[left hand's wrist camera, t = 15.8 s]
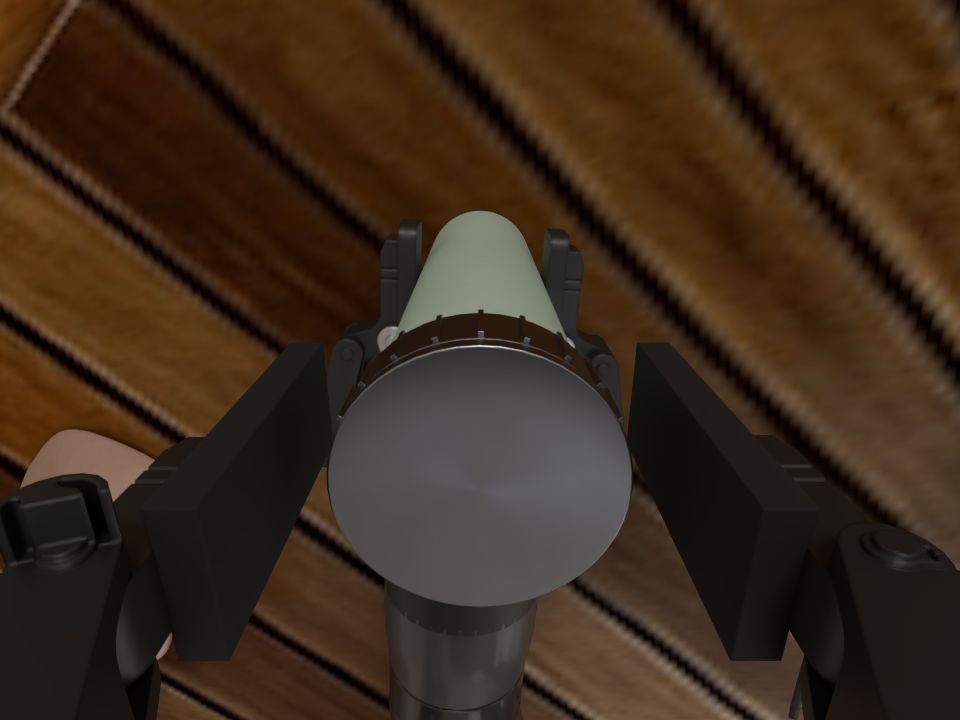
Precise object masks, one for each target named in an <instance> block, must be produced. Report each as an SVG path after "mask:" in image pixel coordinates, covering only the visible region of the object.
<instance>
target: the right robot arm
mask: <svg viewBox="0 0 960 720" xmlns="http://www.w3.org/2000/svg"><path fill="white" fill-rule="evenodd" d="M421 249H422V222H421V221H420V220H403V221H402V222H401V223H400V224H399V227H398V234H391V235H390V236H389V237H388V238H387V239H386V240H385V243H384V245H383V248H382V250H381V253H380V267H381V269H380V278H381V280H380V290H381V314H380V316H379V317H377V318H375V319H373V320H369V321H366V322H363V321H354V322H351V323H350V324H349V325H348V326H347V327H346V329H345V330H344V333H343V335H342V337H341V338H340V339H338V340H337V342H336V343H335V345H334V346H333V349H332V353H331V357H330V362H329V366H328V371H327V376H326V378H327V387H328V396H329V406H330V415H331V425H332V434H333V436H334V434H335V432H336V430H337V427H338V425H339V423H340V421H337V420H336V419H337V417H338V414H339V412H340V411H341V409H342V407H343V405H344V403H345V401H346V399H347V397H348V395H349V393H350V391H351V389H352V387H353V386H355V387H357V384H358V382H359V380H360V378H361V376H362V374H363V372H364V370H365V368H366V364H367V360H369V359H370V358H371V357H372V356H373V355H374V356H376V357H377V356H378V355H379V354H380V353H381V352H382V351H383V350H384V349H385V348H386V347H388V346H389V345H390V344H391V342H392V339H393V337H394V335H395V333H396V330H397V328H398V326H399V323H400V321H401V319H402V316H403V314H404V312H405V309H406V307H407V305H408V302H409V300H410V298H411V295H412V293H413V291H414V288H415V286H416V284H417V281H418V279H419V277H420V274H421ZM583 267H584V265H583V261H582V257H581V254H580V251H579V250H578V249H577V248H576V247H575V246H574V245H569V235H568V234H567V233H566V232H565V230H560V229H546V231H545V236H544V246H543V256H542V266H541V276H540V277H541V279H542V282H543V284H544V286H545V289H546V291H547V293H548V296H549V298H550V300H551V303H552V305H553V307H554V310H555V312H556V314H557V317H558V319H559V321H560V324H561V326H562V328H563V331H564V333H565V335H566V338H567V340H568V342H569V344H570V345H571V346H572V347H573V348H575V349H576V350H577V351H578V352H579V353H580V354H581V355H582V356H583V358H586V357H587V356H588V357H589V358H590V359H591V361H592V363H593V365H594V367H595V369H596V371H597V373H598V375H599V377H600V380H601V382H602V384H603V386H604V387H603V388H608V389H609V391H610V393H611V395H612V397H613V399H614V401H615V403H616V405H617V407H618V409H619V411H620V413H621V415H622V417H623V412H622V401H621V391H620V380H619V369H618V363H617V361H616V359H615V358H614V356H613V354H612V353H611V351H610V349H609V348H608V346H607V344H606V343H605V341H604V340H603V339H602V338H601V337H600V336H598V335H589V334H586V333H584V332H582V331H580V330H578V329H577V328H576V322H577V314H578V307H579V299H580V290H581V283H582V275H583ZM621 426H622V428H623V430H624V423H621ZM327 464H328V455H327V457H326V459H325V461H324V463H323V466H322V467H327ZM384 579H385V578H384ZM537 600H538V597H537V598H534V599H530V600H526V601H523V602H519V603H514V604H508V605H501V606H488V607H472V606H459V605H452V604H446V603H441V602H437V601H433V600H430V599H426V598H423V597H421V596H418V595H415V594H413V593H410V592H408V591H406V590H404V589H402V588H400V587H398V586H396V585H394V584H393V583H391V582H390V581H388V580H387V579H385V627H386V634H387V640H388V645H389V652H390V715H391V720H523V717H522V713H521V710H520V698H521V691H522V682H523V674H524V665H525V659H526V655H527V652H528V649H529V646H530V642H531V638H532V634H533V630H534V624H535V616H536V608H537Z"/></svg>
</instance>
